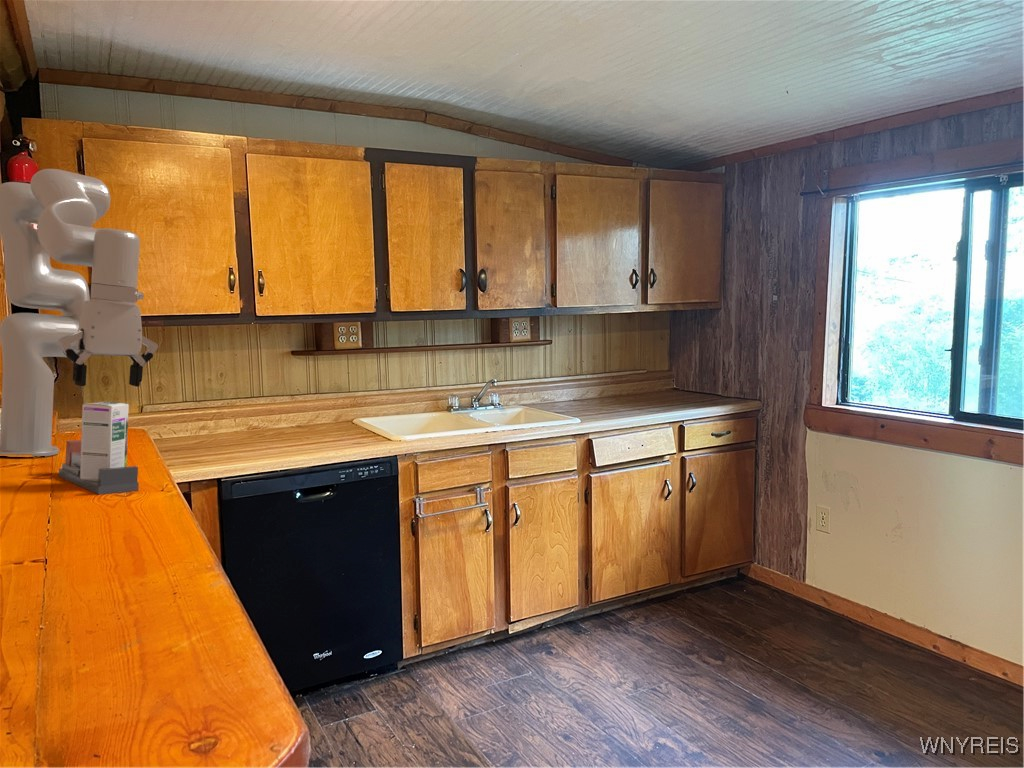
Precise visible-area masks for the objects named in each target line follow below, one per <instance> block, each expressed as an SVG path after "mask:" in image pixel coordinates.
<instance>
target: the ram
mask: <svg viewBox="0 0 1024 768" xmlns="http://www.w3.org/2000/svg"><path fill="white" fill-rule="evenodd" d="M65 443H66V444H65V462H64V463H68V464H70V465H72V466H75V467H77V468H79V469H80V467H81V439H76V440H66V442H65Z"/></svg>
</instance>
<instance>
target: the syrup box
mask: <svg viewBox="0 0 1024 768" xmlns="http://www.w3.org/2000/svg"><path fill="white" fill-rule="evenodd" d="M129 406H130V404H128V403H125V402H120V401H119V402H118V401H99V402H91V403H83V404H82V406H81V407H82V411H81V437H80V438H81V439H80V440H81V467H80V479H84V480H92V481H98V474H99V469H105V468H117V467H128V466H127V465H128V464H127V462H128V461H127V460H128V435H129V434H128V433H129V411H130V410H129Z"/></svg>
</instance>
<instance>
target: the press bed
mask: <svg viewBox="0 0 1024 768" xmlns="http://www.w3.org/2000/svg"><path fill="white" fill-rule="evenodd" d="M138 473H139V467H138V466H136V465H133V466H132V465H130V466H127V467H117V468H105V469H99V474H98V481H92V480H84V479H80V469H79V468H77V467H75V466H72V465H70V464H68V463H65V462H64V463H62V466H61V468H58V477H60V478H62V479H64V480H66V481H67V482H71V483H73V484H75V485H77V486H79V487H81V488H84V489H86V491H87V490H88V491H90V492H92V493H94V494H96V495H108V494H116V493H119V494H120V493H126V492H127V493H128V492H137V490H138V491H139V487H140V485H139V484H140V482H138Z"/></svg>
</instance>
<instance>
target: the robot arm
mask: <svg viewBox="0 0 1024 768" xmlns="http://www.w3.org/2000/svg"><path fill="white" fill-rule="evenodd" d="M110 206H111V194H110V190H109V188H108V186H107V185H106V184H105V183H104V182H103V181H102V180H101V179H99V178H97V177H94V176H89V175H84V174H82V173H81V174H80V173H77V172H72V171H67V170H63V169H58V168H44V169H41V170H39V171H37V172H35V174H33V175H32V177H31V179H30V183H27V182H18V181H9V182H7V181H6V182H3V183H1V184H0V239H1V241H2V244H3V245H2V246H3V251H4V252H3V256H4V257H3V258H4V274H5V277H4V278H5V291H6V297H7V299H8V302H10V303H11V304H12V305H14V306H17V307H21V308H25V309H26V308H28V309H37V310H48V311H59V312H61V314H62V315H60V314H59V315H56V314H49V313H36V312H35V313H34V312H16V313H11V314H8V315H6V316H5V317H4V318H3V319H2V321H1V322H0V347H1V354H2V355H1V356H2V390H1V412H0V455H17V456H18V455H33V456H45V457H52V456H56V455H58V454H59V452H60V449H59V447H58V446H56V445H55V446H54V445H52V433H53V432H52V429H53V412H54V411H53V410H54V391H55V376H54V373H53V371H52V369H51V368H50V367H49V366H48V364H47V363H46V362H45V361H44V359H43V358H46V357H49V358H51V357H53V358H54V357H56V358H58V357H60V358H68V359H69V361H71V363H73V367H72V368H73V369H72V381H73V382H74V384H75V385H76V386H79V387H85V386H86V384H87V371H88V370H87V367H88V366H87V364H85V362H86V361H87V360H88V359H89V358H90V357H91V356H114V357H128V358H129V359H130V360H131V362H132V364H131V365H130V366H129V379H128V380H129V382H128V384H129V385H130V386H133V387H141V383H142V381H143V371H144V367H145V366H146V365H147V363H148V362H149V361H150V360H151V359H152V358H153V357H154V355H155V353H156V352H157V350H158V348H159V344H158V343H156V342H154V341H153V340H151V339H149V338H147V337H146V336H144V335H143V328H142V327H143V326H142V316H141V315H142V314H141V309H140V305H137V302H138V301H139V300H144V294H145V293H143V292H140V291H139V288H138V278H139V276H138V275H139V262H140V247H141V246H140V245H141V243H140V242H141V240H140V237H139V235H138V234H136V233H134V232H131V231H129V230H124V229H117V228H108V227H102V228H96V227H93V225H94V224H95V223H96V222H97V221H99V220H100V219H101V218H103V217H104V216H105V215H106V214H107V212H108V210H109V209H110ZM32 224H34V225H37V227H36V228H34V226H33V225H32ZM51 258H52V260H54V261H56V262H58V263H61V264H67V265H75V266H82V267H90V268H91V281H90V282H91V284H90V285H91V286H90V287H89V285H88V282H87V280H86V279H85V278H84V276H83V275H82V274H80V273H79V272H77V271H73V270H67V269H59V268H54V267H52V265H51ZM142 345H143V346H146V350H145V351H144V352H143V353H142V354H140V353H141V351H142Z"/></svg>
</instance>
